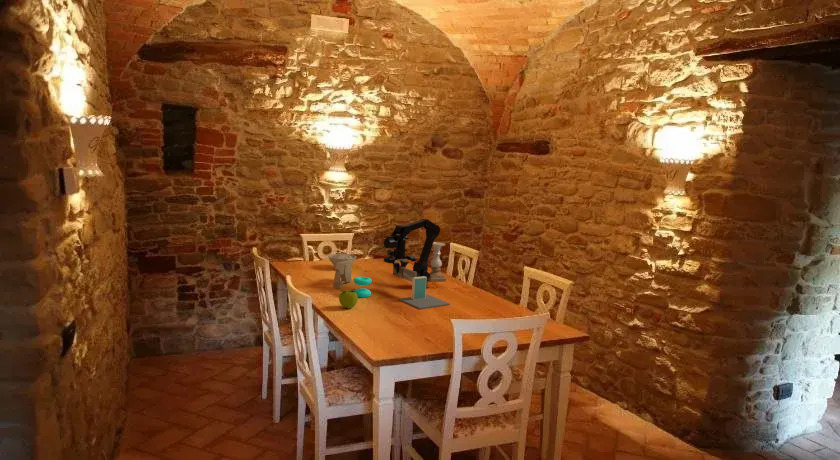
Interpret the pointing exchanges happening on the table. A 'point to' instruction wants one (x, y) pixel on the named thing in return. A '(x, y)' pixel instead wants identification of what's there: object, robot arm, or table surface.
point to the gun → (342, 273)
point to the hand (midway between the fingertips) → (399, 273)
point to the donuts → (362, 282)
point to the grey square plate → (424, 302)
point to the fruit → (348, 298)
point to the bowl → (341, 258)
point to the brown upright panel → (405, 273)
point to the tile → (419, 287)
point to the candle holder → (436, 264)
